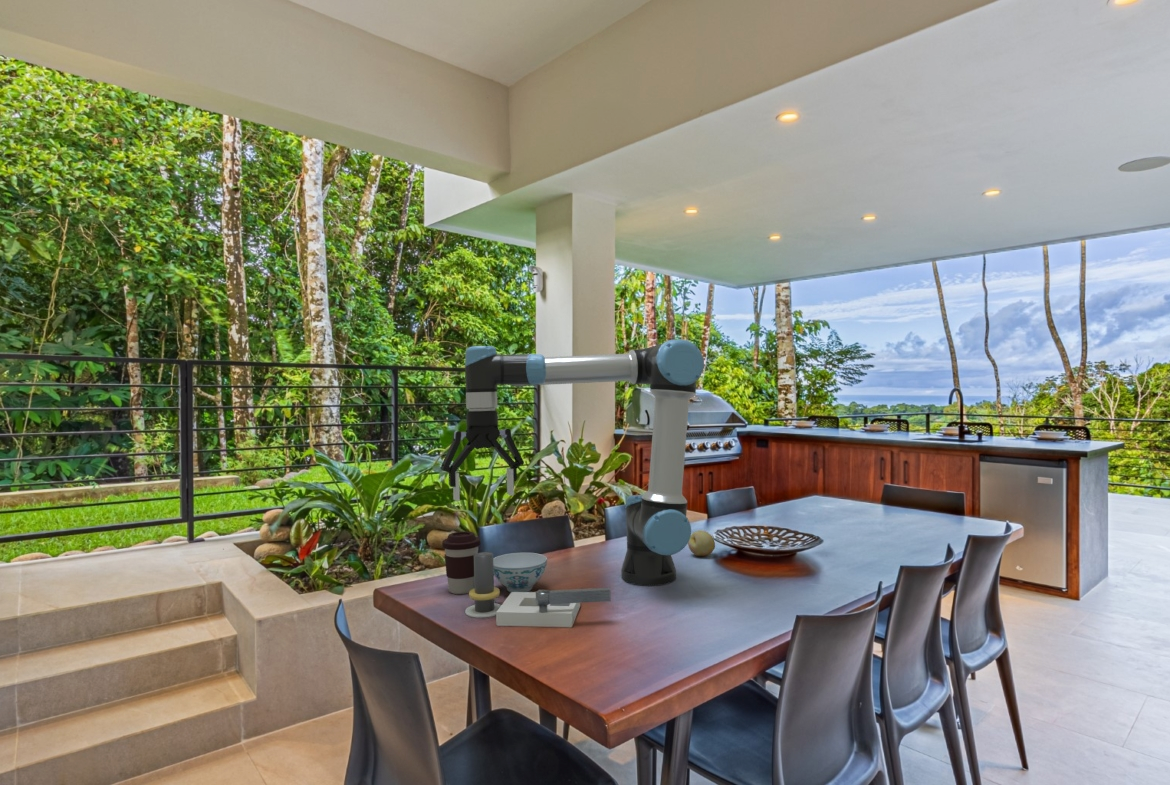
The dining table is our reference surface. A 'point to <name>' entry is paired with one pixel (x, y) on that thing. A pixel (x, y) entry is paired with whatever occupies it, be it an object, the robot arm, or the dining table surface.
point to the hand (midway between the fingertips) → (484, 497)
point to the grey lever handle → (572, 596)
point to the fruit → (701, 543)
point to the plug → (484, 583)
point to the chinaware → (519, 570)
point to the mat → (472, 613)
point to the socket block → (535, 612)
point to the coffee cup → (460, 560)
